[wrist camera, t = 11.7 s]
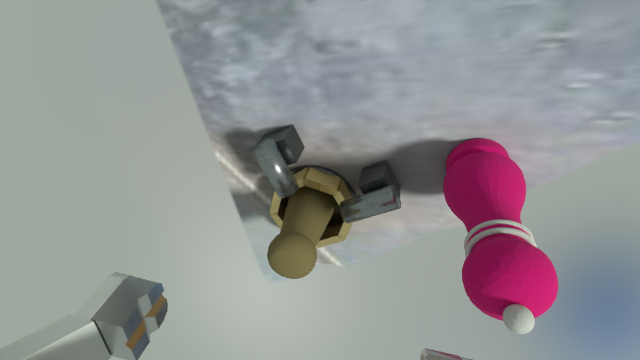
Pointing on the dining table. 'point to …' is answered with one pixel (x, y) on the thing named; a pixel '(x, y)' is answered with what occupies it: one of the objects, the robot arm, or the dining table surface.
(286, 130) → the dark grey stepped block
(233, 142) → the dining table surface
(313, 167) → the coupling collar
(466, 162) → the pepper mill
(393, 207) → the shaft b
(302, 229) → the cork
